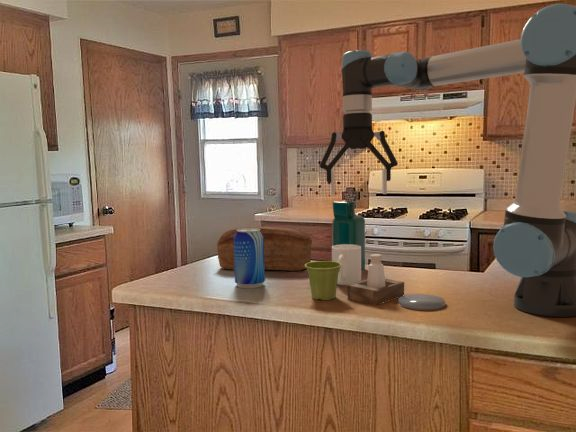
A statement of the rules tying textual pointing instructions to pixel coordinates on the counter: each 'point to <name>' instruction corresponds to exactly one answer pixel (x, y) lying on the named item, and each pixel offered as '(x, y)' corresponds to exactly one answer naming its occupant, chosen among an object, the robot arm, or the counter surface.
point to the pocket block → (375, 291)
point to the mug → (348, 263)
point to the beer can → (249, 258)
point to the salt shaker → (376, 272)
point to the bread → (271, 248)
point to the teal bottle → (348, 227)
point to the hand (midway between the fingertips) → (358, 194)
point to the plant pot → (323, 278)
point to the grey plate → (421, 302)
